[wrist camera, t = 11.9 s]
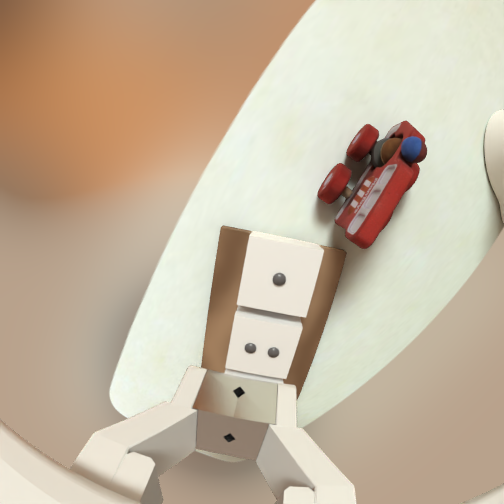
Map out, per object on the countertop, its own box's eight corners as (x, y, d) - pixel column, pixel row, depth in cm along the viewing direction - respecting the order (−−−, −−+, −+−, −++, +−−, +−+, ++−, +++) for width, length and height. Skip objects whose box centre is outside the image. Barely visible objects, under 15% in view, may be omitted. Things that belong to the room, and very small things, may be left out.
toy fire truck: (416, 153, 26) (472, 147, 16) (356, 243, 29) (394, 275, 19) (368, 113, 25) (410, 85, 15) (305, 205, 28) (321, 220, 18)
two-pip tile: (300, 315, 30) (302, 329, 27) (285, 364, 31) (286, 380, 28) (238, 303, 30) (234, 316, 27) (228, 353, 32) (224, 369, 29)
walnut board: (343, 250, 29) (351, 258, 26) (293, 401, 35) (294, 418, 32) (222, 225, 29) (216, 231, 26) (200, 384, 35) (195, 400, 32)
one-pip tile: (319, 243, 27) (324, 251, 25) (303, 305, 29) (306, 318, 26) (251, 230, 28) (249, 236, 25) (240, 293, 29) (236, 305, 27)
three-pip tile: (283, 371, 32) (283, 387, 29) (270, 408, 33) (270, 423, 31) (227, 361, 32) (223, 376, 29) (220, 398, 34) (216, 414, 31)
